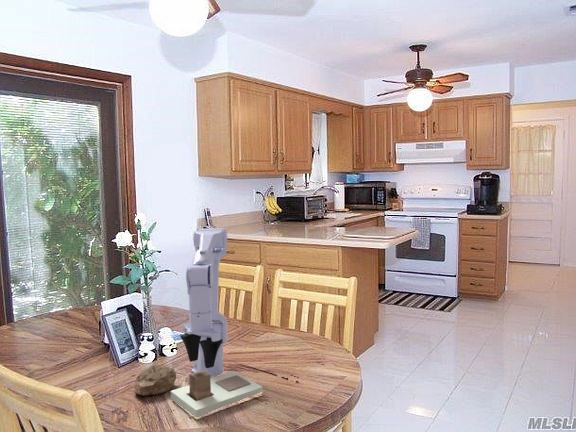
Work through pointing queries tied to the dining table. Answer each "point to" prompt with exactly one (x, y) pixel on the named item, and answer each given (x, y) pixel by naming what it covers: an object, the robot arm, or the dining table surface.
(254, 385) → the board
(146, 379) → the rock
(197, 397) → the block
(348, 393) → the dining table surface
